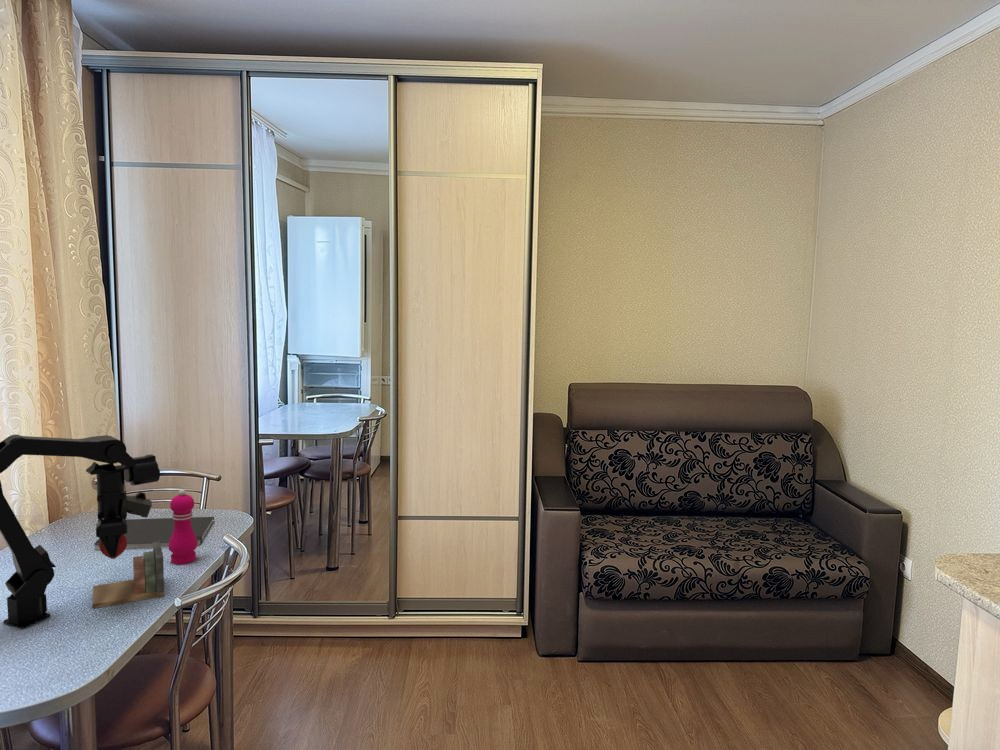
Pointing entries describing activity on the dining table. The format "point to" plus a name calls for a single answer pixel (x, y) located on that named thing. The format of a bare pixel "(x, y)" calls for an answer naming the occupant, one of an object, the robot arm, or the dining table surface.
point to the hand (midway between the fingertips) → (113, 552)
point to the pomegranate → (120, 549)
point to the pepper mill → (182, 530)
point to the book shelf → (118, 594)
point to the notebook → (159, 531)
